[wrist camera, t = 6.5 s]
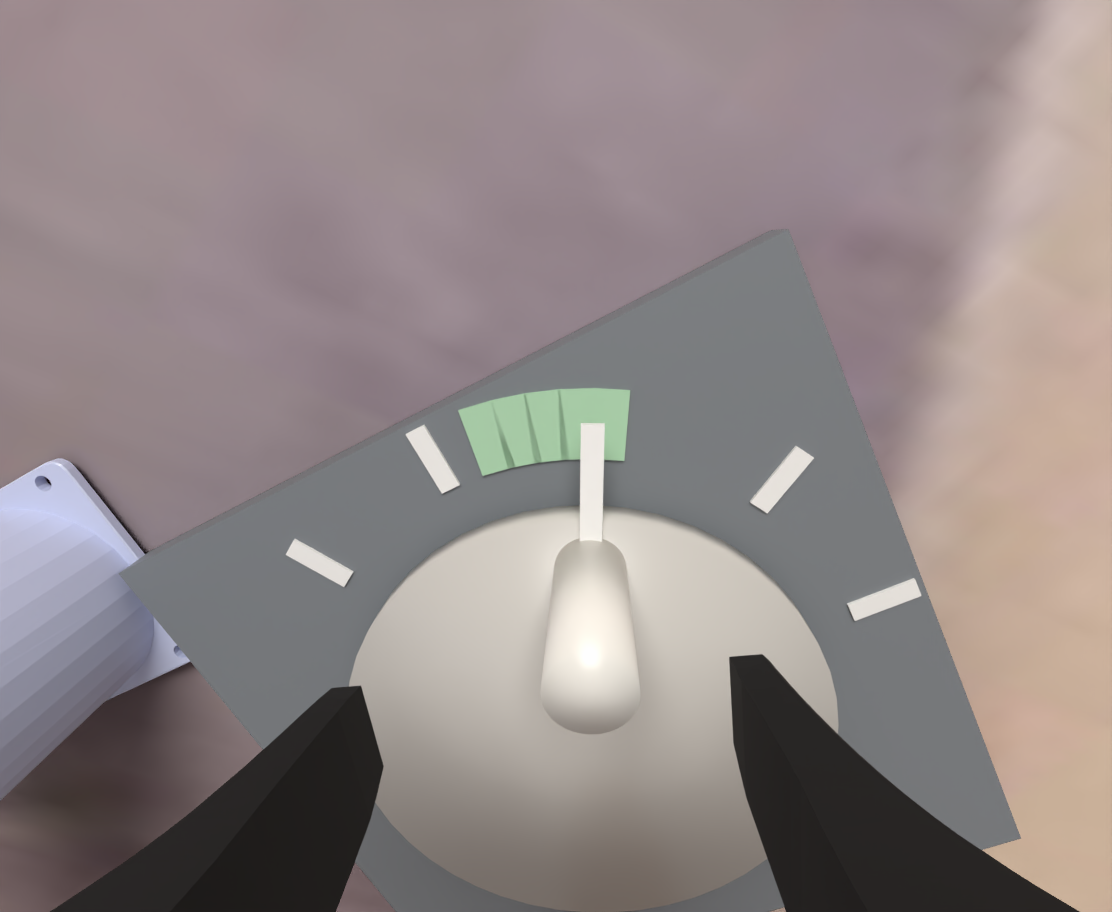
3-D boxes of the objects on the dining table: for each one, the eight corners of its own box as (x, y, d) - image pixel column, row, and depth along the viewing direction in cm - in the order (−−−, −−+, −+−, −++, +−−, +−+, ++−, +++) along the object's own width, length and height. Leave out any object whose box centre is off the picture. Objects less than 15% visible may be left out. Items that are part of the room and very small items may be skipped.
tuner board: (474, 959, 27) (466, 1004, 25) (150, 551, 21) (113, 576, 19) (994, 800, 23) (1024, 843, 21) (771, 230, 17) (790, 228, 15)
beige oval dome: (795, 894, 22) (865, 1119, 16) (381, 873, 23) (312, 1082, 17) (878, 415, 16) (1031, 509, 11) (319, 409, 17) (185, 494, 11)
